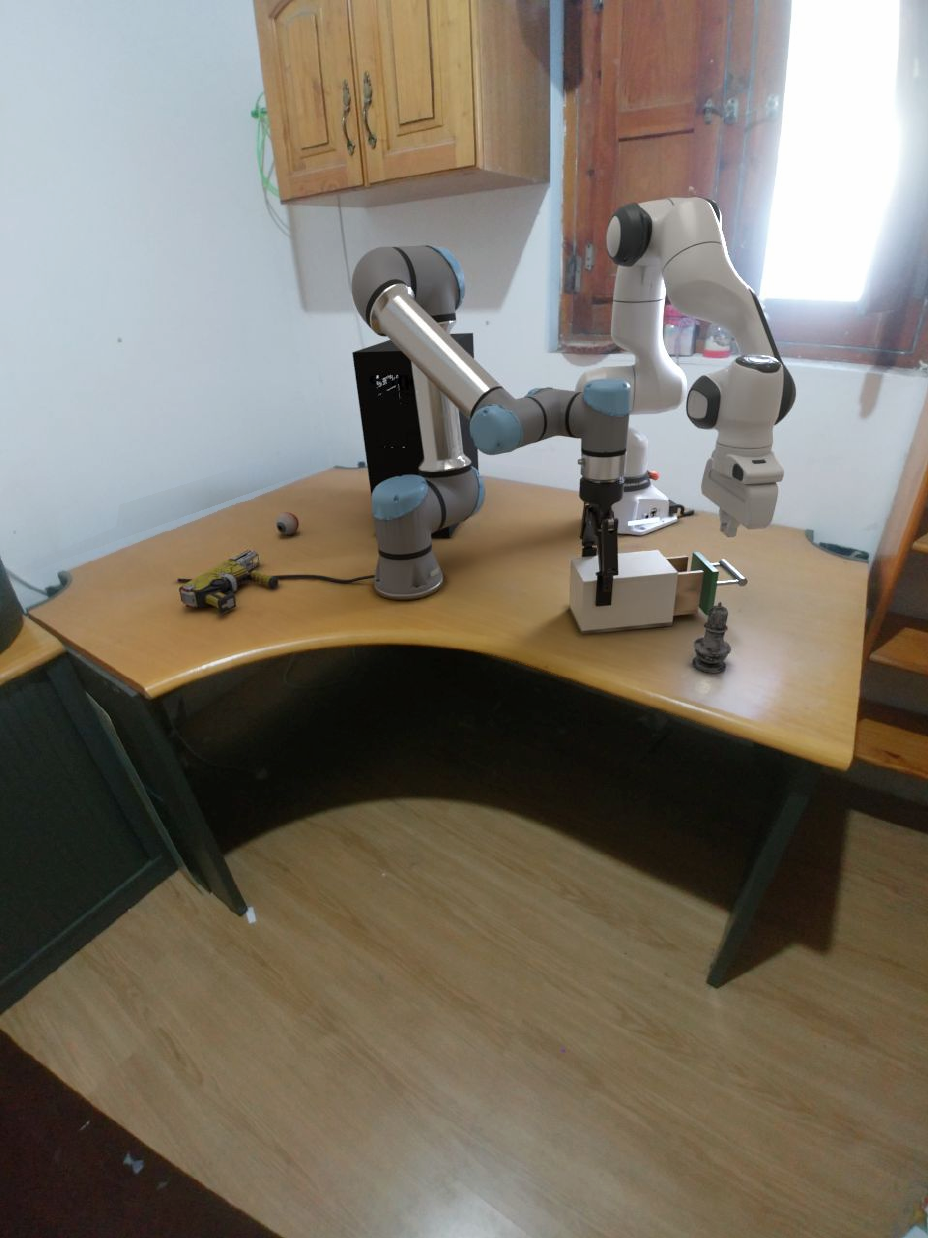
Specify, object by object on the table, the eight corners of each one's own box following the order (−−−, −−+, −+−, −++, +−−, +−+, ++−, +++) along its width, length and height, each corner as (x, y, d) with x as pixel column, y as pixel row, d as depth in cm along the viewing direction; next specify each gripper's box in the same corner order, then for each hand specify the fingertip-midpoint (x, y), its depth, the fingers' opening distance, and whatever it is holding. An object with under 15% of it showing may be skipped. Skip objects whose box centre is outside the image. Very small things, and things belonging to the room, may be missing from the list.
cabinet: (653, 599, 122) (658, 549, 117) (672, 625, 113) (678, 572, 108) (569, 608, 122) (570, 558, 116) (581, 634, 113) (583, 581, 107)
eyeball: (273, 537, 164) (268, 516, 161) (287, 528, 169) (282, 508, 166) (291, 539, 161) (286, 518, 158) (305, 530, 166) (301, 510, 163)
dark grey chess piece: (730, 675, 99) (743, 611, 93) (692, 672, 100) (703, 609, 94) (724, 655, 104) (736, 594, 98) (688, 653, 105) (698, 592, 99)
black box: (449, 537, 157) (436, 349, 134) (376, 534, 161) (352, 352, 139) (479, 491, 188) (473, 332, 166) (417, 489, 193) (403, 335, 170)
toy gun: (299, 558, 143) (245, 547, 147) (233, 601, 123) (173, 587, 126) (300, 576, 145) (248, 565, 149) (236, 621, 125) (177, 606, 129)
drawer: (721, 590, 122) (728, 548, 117) (742, 612, 114) (751, 568, 109) (614, 601, 121) (617, 559, 117) (628, 623, 113) (632, 579, 109)
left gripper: (565, 460, 113) (562, 567, 124) (598, 500, 93) (591, 623, 104) (605, 457, 113) (598, 564, 124) (645, 496, 94) (633, 619, 105)
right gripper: (698, 445, 112) (688, 515, 119) (751, 477, 95) (736, 557, 102) (731, 442, 113) (719, 513, 120) (790, 474, 95) (772, 555, 102)
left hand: (595, 591), depth 114 cm, fingers closed on cabinet, 10 cm apart
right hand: (727, 534), depth 110 cm, fingers closed
